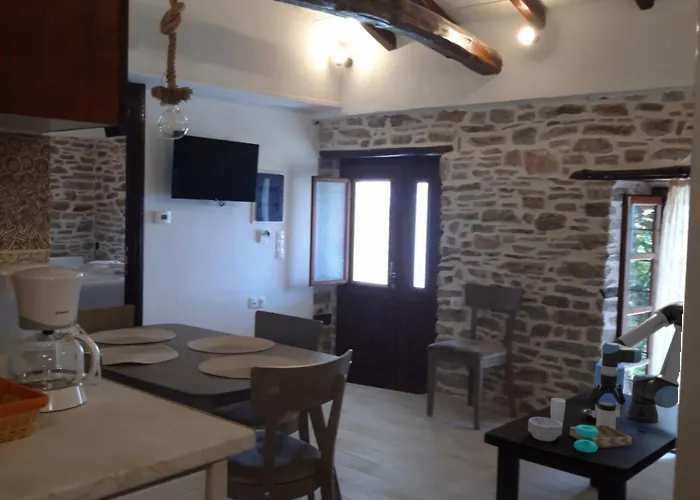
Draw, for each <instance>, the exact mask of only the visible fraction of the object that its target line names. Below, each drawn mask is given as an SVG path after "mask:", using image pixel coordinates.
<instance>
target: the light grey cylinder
mask: <svg viewBox="0 0 700 500" xmlns="http://www.w3.org/2000/svg"><path fill="white" fill-rule="evenodd" d="M565 413H566V399H564V398H561V397H552V398H551V399H550V418H551V419H555V420H557V421H559V422H561V423H562V427H564V426H563V424H564V419H565V418H564V417H565Z"/></svg>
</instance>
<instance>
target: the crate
mask: <svg viewBox="0 0 700 500" xmlns="http://www.w3.org/2000/svg"><path fill="white" fill-rule="evenodd" d="M592 426H593V427H595V428H597V429H598V431H599V433H598V435H597V436H596V437H591V438H589V437H583V436H580V435H578V434H577V433H576V432H575V427H576V426H570V427H569V436H571V437H572V438H574V439H576V440H589V441H592V442H594V443H595V444H596V445H597V447H598V449H603V448H604V449H605V448H619V447H621V448H622V447H631V446H632V441H633V440H632V439H633V437H632V436H630V435H629V434H626V433H623V432H621V430H617V429H616V428H615V429H613V428H611V427H609V426H607V425H599V426H596V425H592Z"/></svg>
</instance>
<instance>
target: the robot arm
mask: <svg viewBox="0 0 700 500" xmlns="http://www.w3.org/2000/svg"><path fill="white" fill-rule="evenodd" d="M683 302H684V301H673V302H671V303H668V304H666V305H664V306H662V307H660V308H659V309H657V310H655V311H654V313H653V315H651V316H650V317H649V318H647V319H645V320H644V321H642V322H640V323H639V324H638V325H636V326H635V327H633V328H632V329H630V330H629V331H626V333H624V334H622V335H621V336H619V337H618V338H616V339H615V340H613V341H612V340H611V341H606V342H604V343H603V344H602V346H601V350H602V351H601V352H602V358H601V362H602V367H601V373H602V374H601V379H600V380H601V384H595V387H594V388H593V390H592V391H591V394H590V395H589V398H588V399H587V402H588V403H590V404H591V405H590V410H591V417H592V418H594V419H597V408H598V404H597V403H599V402H598V401H599V399H600V398H601V397H602V396H603V395H604V394H605V393H612V395H613V396H614V398H615V399H616V401H617V402H618V403H616V418H620V417H621V411H622V405H624V404H625V403H626V398H625V396H624V391H623V392H622V389H621V384H618V383H617V376H616V375H617V373H618V363H619V364H621V363H622V364H623V363H625V364H637V363H640V362H641V361H642V358H643V353H642V350H641V349H639V348H638V347H635V346H636V345H638V344H639V343H641V342H643V341H644V340H645V339H647V338H648V337H650V336H652V335H653V334H654V333H656V332H658V331H659V330H661V329H663V328H667V327H669V326H672V325H673V327H674V329H675V330H674V332H673V335H672V338H671V341H670V343H669V347H668V349H667V352H666V355H665V357H664V359H663V360H664V361H663V362H662V366H661V368H660V371H659V373H658V374H656V375H654V374H638V373H637V374H634V375H633V377H632V389H631V403H630V406H629V407H628V410H627V411H626V417H627V418H628V419H631V420H633V421H635V422H642V423H657V422H659V419H660V418H659V414H658V410H657V409H658V408H657V406H658V407H660V408H664V409H671V408H673V407H675V406H677V404H679V402H678V390H679V387H680V384H679V381H678V379H679V377H680V374H679V372H680V373H681V371H680V352H681V332H682V314H683ZM616 383H617V384H616ZM600 387H601V389H600ZM615 388H616V389H617V392H618V394H617V392H616V391H615ZM599 389H600V390H599ZM602 391H603V392H602ZM618 395H619V396H618Z"/></svg>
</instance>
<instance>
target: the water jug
mask: <svg viewBox="0 0 700 500" xmlns="http://www.w3.org/2000/svg"><path fill="white" fill-rule="evenodd" d="M601 367H602V361H599V362H597V363H595V369H594V371H595V373H594V375H595V376H594V381H593V382H594V383H593V386H594V387H595V384H601V380H600V379H601V374H602V373H601ZM625 370H626V369H625V365H622V364H621V363H618V373H617V375H616V376H617V383H618V384H621V389H622V392H623V393H624V388H625V385H624V384H625V383H624V381H625V373H626V372H625ZM617 383H616V384H617ZM600 389H601V387H600ZM600 389H599V390H600ZM615 391H616V392H617V389H616V388H615ZM602 392H603V391H602ZM617 394H618V392H617ZM618 396H619V395H618ZM599 402H610V403H614V404H616V403H618V402H617V401H616V399H615V398H614V396H613V395H612V393H605V394H604V395H603V396H602V397H601V398H600V399H599V401H598V402H597V403H599Z"/></svg>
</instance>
